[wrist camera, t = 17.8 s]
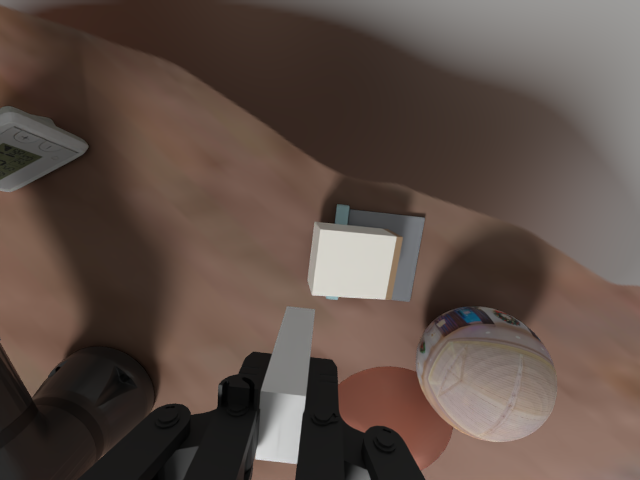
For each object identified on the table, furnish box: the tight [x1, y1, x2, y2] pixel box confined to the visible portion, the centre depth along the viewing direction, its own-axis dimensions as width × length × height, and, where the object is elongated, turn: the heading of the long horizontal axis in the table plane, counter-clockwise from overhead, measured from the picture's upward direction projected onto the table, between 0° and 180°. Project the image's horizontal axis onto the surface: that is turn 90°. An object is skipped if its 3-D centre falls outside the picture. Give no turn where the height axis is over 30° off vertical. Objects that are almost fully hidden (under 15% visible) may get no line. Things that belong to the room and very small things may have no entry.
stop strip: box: [326, 204, 349, 300], centre depth 42 cm, size 2×13×2 cm, turn 174°
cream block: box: [307, 222, 403, 300], centre depth 39 cm, size 5×8×10 cm
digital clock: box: [0, 106, 89, 192], centre depth 37 cm, size 14×8×9 cm, turn 103°
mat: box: [348, 209, 425, 302], centre depth 43 cm, size 10×12×1 cm
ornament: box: [416, 306, 557, 442], centre depth 38 cm, size 15×15×15 cm
